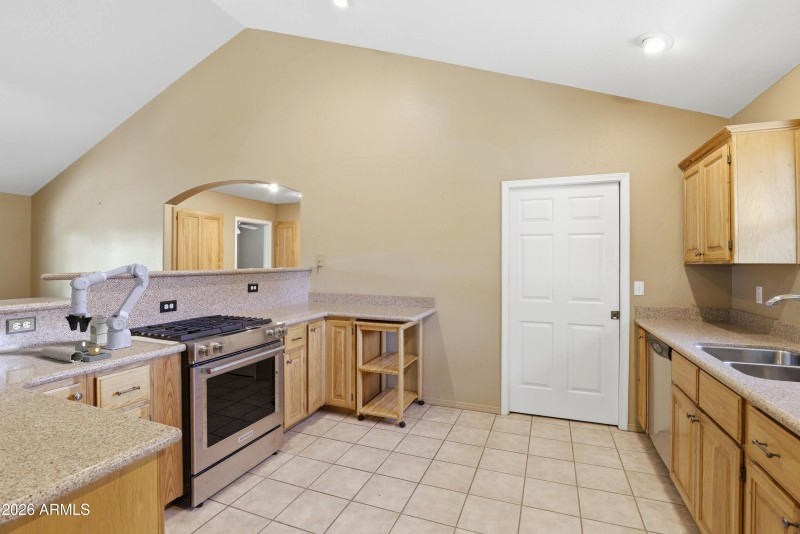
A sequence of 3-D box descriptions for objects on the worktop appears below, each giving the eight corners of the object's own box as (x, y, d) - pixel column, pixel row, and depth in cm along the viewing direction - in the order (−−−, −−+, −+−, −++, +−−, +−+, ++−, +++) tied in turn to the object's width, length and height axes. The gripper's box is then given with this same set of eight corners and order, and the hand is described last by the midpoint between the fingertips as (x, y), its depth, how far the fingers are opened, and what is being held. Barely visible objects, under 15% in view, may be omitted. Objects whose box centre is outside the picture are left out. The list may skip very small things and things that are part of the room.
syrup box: (108, 342, 210) (108, 315, 210) (96, 344, 205) (96, 316, 204) (102, 341, 212) (102, 314, 212) (89, 343, 207) (89, 315, 207)
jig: (86, 352, 187) (86, 348, 187) (111, 357, 180) (111, 353, 180) (64, 357, 179) (64, 352, 179) (89, 362, 172) (89, 357, 172)
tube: (36, 349, 178) (67, 355, 168) (49, 343, 183) (81, 348, 172) (40, 359, 180) (72, 365, 170) (54, 353, 184) (85, 359, 174)
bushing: (83, 354, 184) (83, 339, 184) (89, 355, 183) (89, 340, 183) (72, 356, 180) (72, 341, 180) (79, 357, 179) (79, 342, 179)
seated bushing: (96, 357, 180) (96, 346, 180) (102, 358, 179) (102, 347, 179) (86, 359, 176) (86, 348, 176) (92, 360, 175) (92, 349, 175)
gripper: (60, 302, 185) (59, 331, 186) (78, 304, 180) (78, 334, 180) (77, 301, 192) (76, 328, 192) (95, 303, 186) (95, 331, 186)
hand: (78, 331), depth 186 cm, fingers open, 7 cm apart
